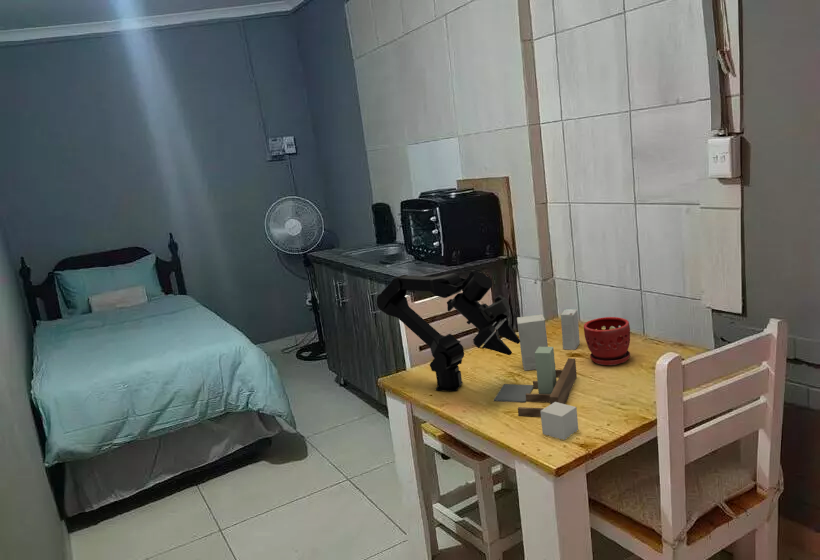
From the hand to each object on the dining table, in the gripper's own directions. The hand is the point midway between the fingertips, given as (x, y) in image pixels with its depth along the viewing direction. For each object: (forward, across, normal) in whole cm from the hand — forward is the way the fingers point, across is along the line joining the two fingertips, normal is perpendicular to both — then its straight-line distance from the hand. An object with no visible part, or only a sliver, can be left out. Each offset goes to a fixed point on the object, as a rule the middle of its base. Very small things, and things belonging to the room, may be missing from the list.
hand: (515, 348), depth 169 cm
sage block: (+15, 0, +4) cm, 16 cm away
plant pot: (+24, +27, -5) cm, 37 cm away
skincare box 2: (+15, +39, +4) cm, 42 cm away
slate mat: (+8, 0, +11) cm, 13 cm away
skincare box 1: (+10, +21, +10) cm, 25 cm away
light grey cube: (+20, -21, -1) cm, 29 cm away
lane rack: (+15, 0, +4) cm, 16 cm away
